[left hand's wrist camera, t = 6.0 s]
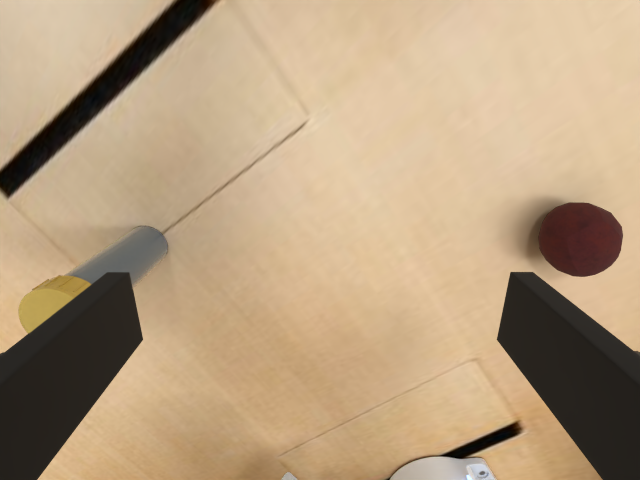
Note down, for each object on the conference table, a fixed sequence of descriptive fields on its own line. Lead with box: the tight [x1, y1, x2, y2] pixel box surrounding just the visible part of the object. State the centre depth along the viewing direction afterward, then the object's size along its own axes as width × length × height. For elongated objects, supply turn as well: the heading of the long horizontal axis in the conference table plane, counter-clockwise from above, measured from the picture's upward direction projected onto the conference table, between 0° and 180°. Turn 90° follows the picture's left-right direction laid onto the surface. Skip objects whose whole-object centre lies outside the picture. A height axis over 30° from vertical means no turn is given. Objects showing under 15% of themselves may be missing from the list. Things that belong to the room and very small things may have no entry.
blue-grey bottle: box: [63, 226, 168, 288], centre depth 35 cm, size 5×5×15 cm
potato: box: [539, 203, 623, 277], centre depth 38 cm, size 7×8×7 cm
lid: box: [19, 275, 91, 334], centre depth 28 cm, size 5×5×2 cm
